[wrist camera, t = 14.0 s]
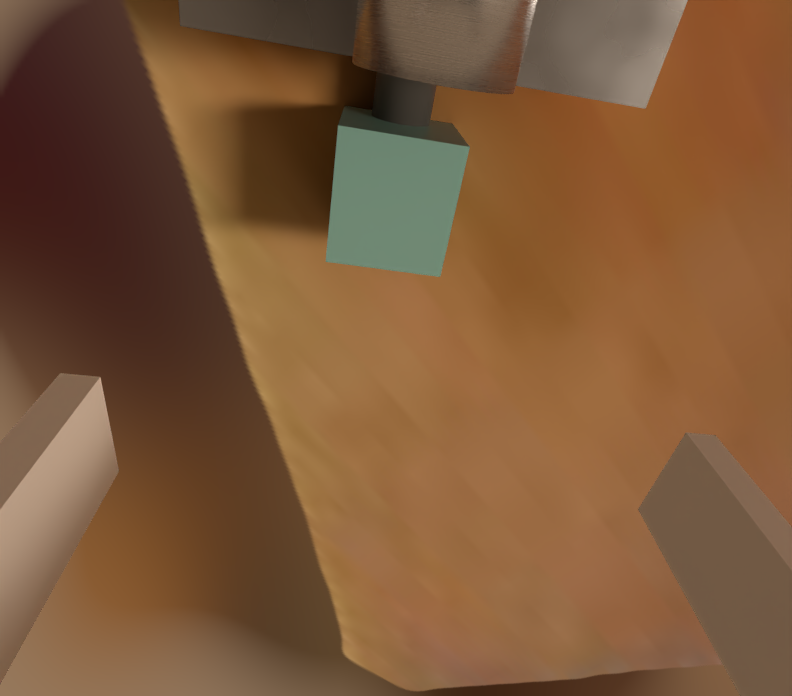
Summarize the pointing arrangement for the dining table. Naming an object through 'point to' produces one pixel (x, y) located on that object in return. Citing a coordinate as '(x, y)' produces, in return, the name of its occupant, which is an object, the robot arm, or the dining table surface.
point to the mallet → (395, 181)
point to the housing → (471, 39)
